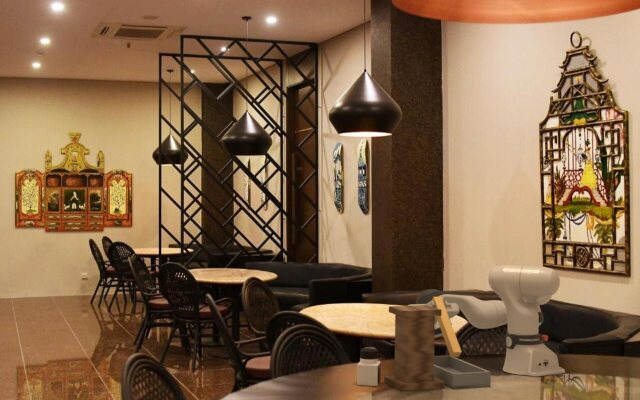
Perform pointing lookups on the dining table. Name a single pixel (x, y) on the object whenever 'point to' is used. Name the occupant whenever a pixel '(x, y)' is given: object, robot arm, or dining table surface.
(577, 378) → the dining table surface
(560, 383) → the dining table surface
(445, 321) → the rod
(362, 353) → the medicine bottle
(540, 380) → the dining table surface
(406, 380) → the stand
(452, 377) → the tray
